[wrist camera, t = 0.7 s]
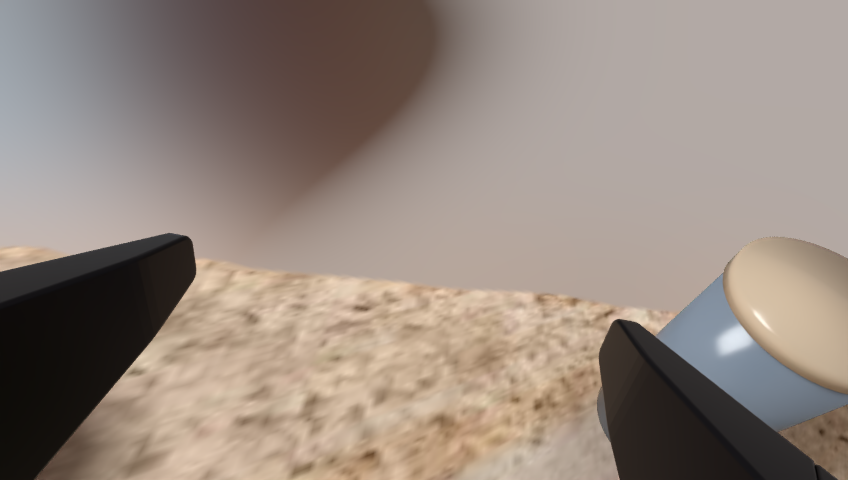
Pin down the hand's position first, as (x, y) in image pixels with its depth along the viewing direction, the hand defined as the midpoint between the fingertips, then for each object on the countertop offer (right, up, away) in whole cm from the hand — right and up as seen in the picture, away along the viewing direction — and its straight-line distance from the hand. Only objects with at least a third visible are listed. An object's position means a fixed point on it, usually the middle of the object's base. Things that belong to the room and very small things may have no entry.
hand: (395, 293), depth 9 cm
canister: (+13, -9, +15) cm, 22 cm away
